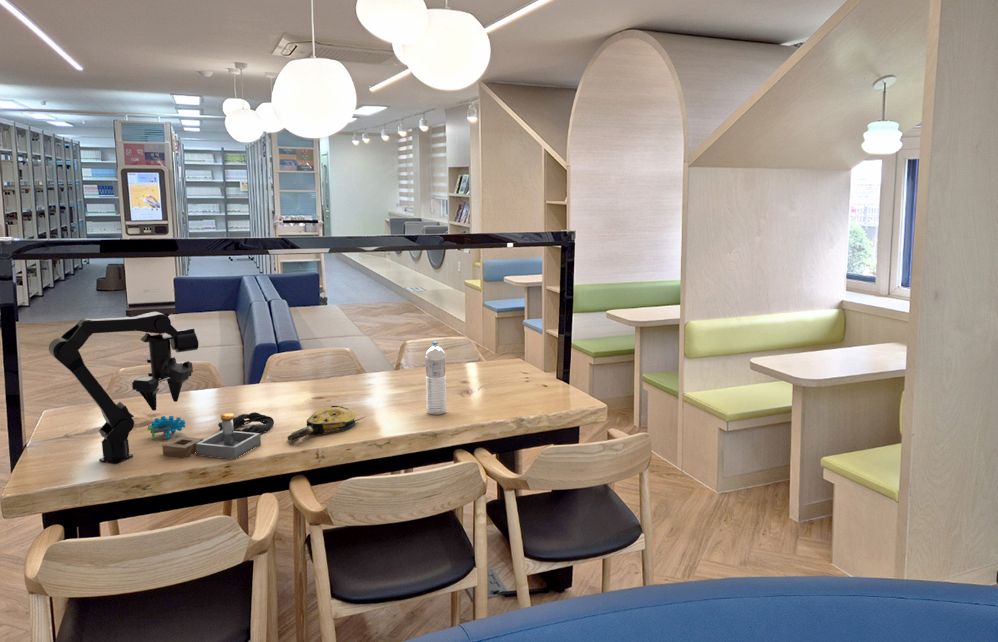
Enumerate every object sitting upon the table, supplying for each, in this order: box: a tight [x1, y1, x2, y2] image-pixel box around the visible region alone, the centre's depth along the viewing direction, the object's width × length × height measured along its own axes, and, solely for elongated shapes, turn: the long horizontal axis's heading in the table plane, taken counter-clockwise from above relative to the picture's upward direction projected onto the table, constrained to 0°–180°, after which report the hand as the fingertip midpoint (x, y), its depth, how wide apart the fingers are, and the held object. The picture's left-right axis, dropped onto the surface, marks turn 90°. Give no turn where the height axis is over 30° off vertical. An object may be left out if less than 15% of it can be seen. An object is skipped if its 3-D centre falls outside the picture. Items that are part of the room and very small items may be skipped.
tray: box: [195, 430, 262, 460], centre depth 220 cm, size 13×13×4 cm
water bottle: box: [424, 341, 447, 416], centre depth 254 cm, size 7×7×25 cm
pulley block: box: [287, 405, 366, 442], centre depth 237 cm, size 14×6×30 cm
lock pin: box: [220, 412, 235, 446], centre depth 219 cm, size 4×4×10 cm
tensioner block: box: [162, 436, 205, 458], centre depth 218 cm, size 8×8×3 cm
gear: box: [147, 415, 186, 440], centre depth 231 cm, size 11×6×10 cm
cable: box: [217, 412, 275, 435], centre depth 238 cm, size 17×14×4 cm
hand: (165, 405), depth 220 cm, fingers open, 9 cm apart
